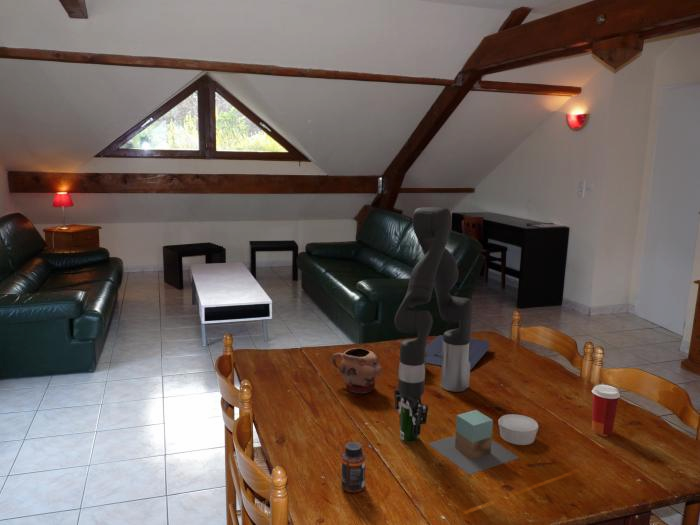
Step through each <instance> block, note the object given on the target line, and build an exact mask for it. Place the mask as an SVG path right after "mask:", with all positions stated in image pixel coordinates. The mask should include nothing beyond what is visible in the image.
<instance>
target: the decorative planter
mask: <svg viewBox="0 0 700 525" xmlns="http://www.w3.org/2000/svg"><path fill="white" fill-rule="evenodd" d="M337 359H340V360H341V362H340V364H339V366H338V364H337V363H336V361H337ZM331 361H332V362H331V363H332V364H333V367H335V368H336V369H337V370H338V371H339V372H340V375H341V376H342V379H343V381H344V383H345V387H346V390H348V391H349V392H352V393H356V394H369V393H371V392H373V391H374V389H375V386H376V381H375V379H376V378H377V377H378V376H380V375H382V373H383V368H382V367H381V364H380V361H379V358H378V356H377V355H376V353H374V352H373V351H371V350H368V349H366V348H361V347H356V348H355V347H353V348H349V349H347V350H345V351H344V352H343V353H342V352H336V353H334V354H333V355H332V357H331Z"/></svg>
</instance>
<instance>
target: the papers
mask: <svg viewBox="0 0 700 525" xmlns="http://www.w3.org/2000/svg"><path fill="white" fill-rule="evenodd" d="M490 343H491V341H489V340H484V339H479V338H473V337H470V341H469V358H468V361H469V362H470V371H471V370H472V369H473V368H474V367H475V366H476V364H477V363H478V362H479V361H480V360H481V359H482V357H483V356H484V355H485V354H486V353H487V352H488V350H489V349H490V348H489V347H491V344H490ZM425 350H426V353H427V357H426V364H430V365H435V366H440V367H442V352H443V335H442V334H439V335H438V336H436V337H435V338H433V339H432V340H430V342H428V343H427V344H426V347H425Z"/></svg>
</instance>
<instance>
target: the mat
mask: <svg viewBox="0 0 700 525" xmlns="http://www.w3.org/2000/svg"><path fill="white" fill-rule="evenodd" d="M455 439H456V434H455V435H451V436H448V437H445V438H441V439H438V440H435V441H432V442H428V443H427V445H429V446H430V447H432V448H433V449H434V450H436V452H438V453H439V454H441V455H442V456H443V457H445V458H447V459H448V460H449V461H450V462H451V463H453V464H454V465H455V466H456V467H458V468H460V469H461V470H462V471H463V472H464V473H466V474H467V475H473V474H476V473H479V472H482V471H485V470H488V469H490V468H495V467H497V466H500V465H503V464H505V463H509V462H512V461H515V460H518V459H520V457H519V456H518V455H516V454H515V453H513V452H512V451H510V449H509V450H508V449H507V448H505V447H504V446H503V445H502V444H499V443H498V442H496V441H494V440H493V439H492V443H491V453H490V454H487V455H484V456H480V457H477V458H474V459H470V458H469V457H467V456H466V455H465V454H463V453H462V452H460V451H459V450H458V449H456V448H455Z"/></svg>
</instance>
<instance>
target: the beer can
mask: <svg viewBox="0 0 700 525" xmlns="http://www.w3.org/2000/svg"><path fill="white" fill-rule="evenodd" d="M418 409H419V408H418ZM418 409H417V410H418ZM417 410H413V413H417V412H418V411H417ZM409 412H410V409H409V407H408V405H407V403H406V402H404V403H403V401H402V403H401V424H400V423H399V426H400V430H399V433H400V434H399V438H400V440H401V441H403V442H405V443H409V444H410V443H415V442H418V440H419V436H420V435H418V436H413V435H412V429H413V421H412V417H411V416H410V414H409ZM415 418H416V420H417V416H415Z"/></svg>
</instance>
